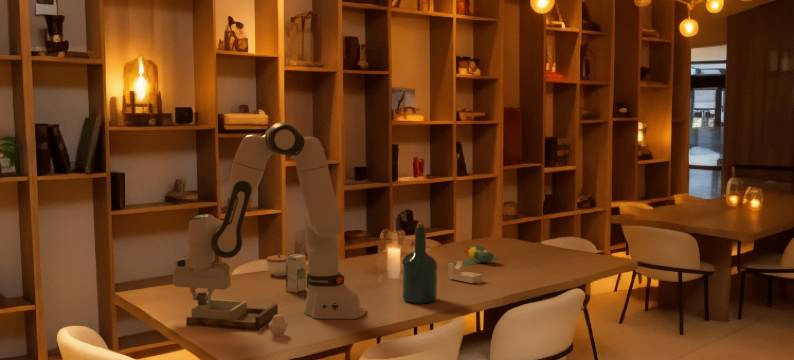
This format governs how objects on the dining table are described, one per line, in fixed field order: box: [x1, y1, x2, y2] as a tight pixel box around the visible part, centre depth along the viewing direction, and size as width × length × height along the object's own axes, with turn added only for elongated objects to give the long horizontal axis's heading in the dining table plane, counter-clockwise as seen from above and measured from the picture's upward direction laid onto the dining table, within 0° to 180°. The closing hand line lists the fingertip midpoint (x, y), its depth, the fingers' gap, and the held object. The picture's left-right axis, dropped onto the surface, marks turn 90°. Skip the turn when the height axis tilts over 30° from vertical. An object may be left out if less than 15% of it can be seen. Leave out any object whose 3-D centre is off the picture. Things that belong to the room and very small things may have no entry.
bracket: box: [447, 260, 483, 284], centre depth 314 cm, size 13×7×8 cm, turn 48°
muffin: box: [267, 314, 288, 337], centre depth 236 cm, size 6×6×7 cm
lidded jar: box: [266, 253, 288, 277], centre depth 323 cm, size 11×11×9 cm
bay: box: [185, 303, 279, 331], centre depth 251 cm, size 26×17×4 cm, turn 78°
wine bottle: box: [401, 222, 438, 305], centre depth 280 cm, size 14×13×30 cm
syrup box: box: [285, 253, 307, 294], centre depth 294 cm, size 6×6×14 cm
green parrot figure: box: [453, 244, 501, 267], centre depth 353 cm, size 28×9×15 cm
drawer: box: [191, 291, 248, 320], centre depth 252 cm, size 15×14×8 cm
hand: (202, 300), depth 253 cm, fingers closed on drawer, 3 cm apart
